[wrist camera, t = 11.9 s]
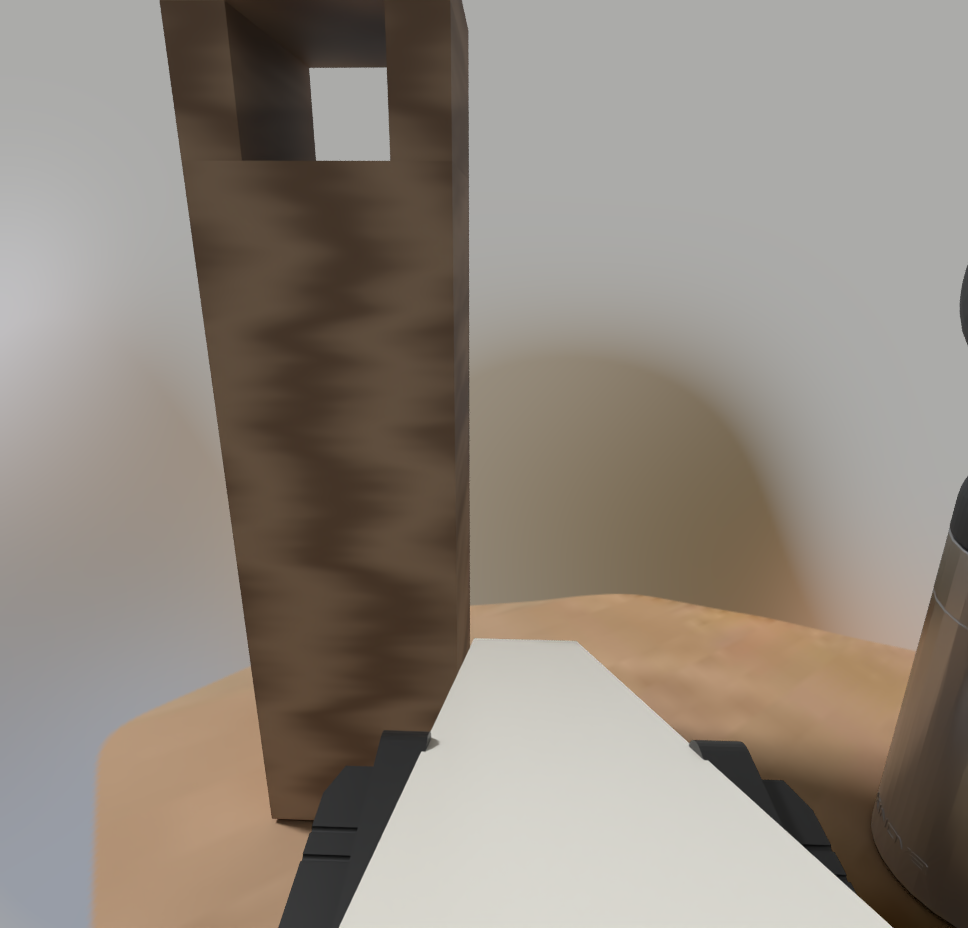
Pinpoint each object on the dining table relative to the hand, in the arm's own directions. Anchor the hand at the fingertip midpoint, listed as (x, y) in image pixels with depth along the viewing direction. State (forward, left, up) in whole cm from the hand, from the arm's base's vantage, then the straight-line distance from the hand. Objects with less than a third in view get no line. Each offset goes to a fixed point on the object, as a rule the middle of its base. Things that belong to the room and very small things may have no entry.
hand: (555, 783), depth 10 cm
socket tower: (+8, -23, -22) cm, 33 cm away
